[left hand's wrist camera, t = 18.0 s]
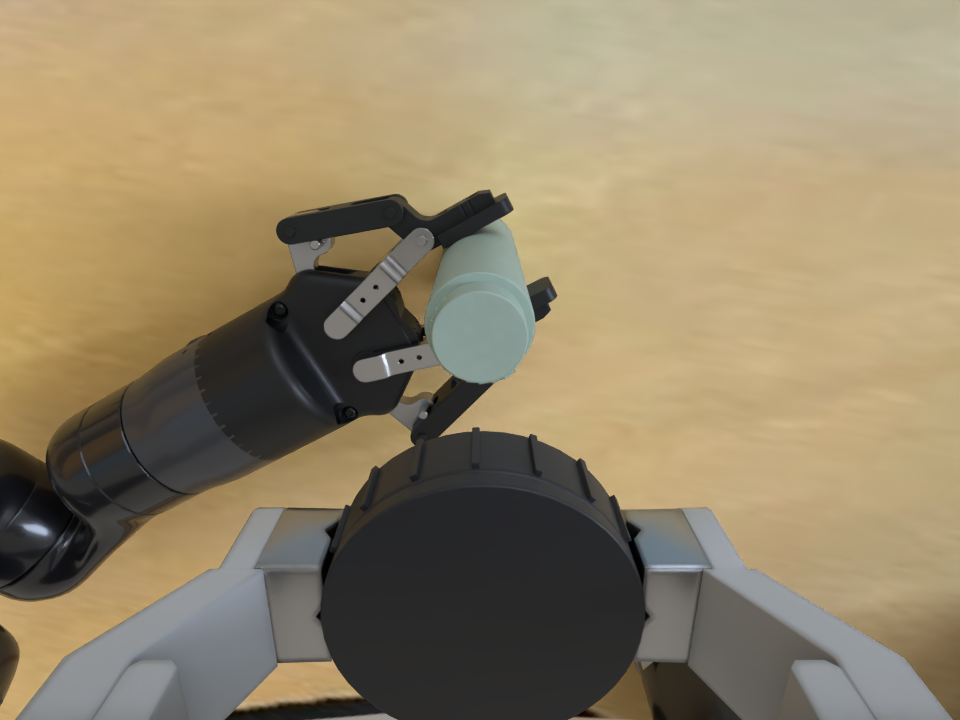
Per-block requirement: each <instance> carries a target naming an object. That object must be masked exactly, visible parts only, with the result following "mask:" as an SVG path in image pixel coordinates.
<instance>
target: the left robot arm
mask: <svg viewBox="0 0 960 720" xmlns="http://www.w3.org/2000/svg"><path fill="white" fill-rule="evenodd" d="M343 510H344V509H326V508H257V509H255V510H254V511H253V512H252V513H251V515H250V517H249V518H248V520H247V522H246V524H245V525H244V527H243V529H242V530H241V532H240V534H239V535H238V537H237V539H236V540H235V542H234V544H233V546H232V547H231V549H230V551H229V552H228V554H227V556H226V557H225V559H224V561H223V562H222V564H221V566H220V568H219V569H209V570H207V571H206V572H204V573H202V574H201V575H199V576H197V577H196V578H194V579H193V580H191V581H189V582H188V583H186V584H184V585H183V586H181V587H179V588H178V589H176V590H174V591H173V592H171V593H169V594H168V595H166V596H164V597H163V598H161V599H159V600H158V601H156V602H155V603H153V604H151V605H150V606H148V607H146V608H145V609H143V610H141V611H140V612H138V613H136V614H135V615H133V616H131V617H130V618H128V619H126V620H125V621H123V622H122V623H120V624H118V625H117V626H115V627H113V628H112V629H110V630H108V631H107V632H105V633H103V634H102V635H100V636H98V637H97V638H95V639H93V640H92V641H90V642H88V643H87V644H85V645H84V646H82V647H80V648H79V649H77V650H75V651H74V652H72V653H70V654H69V655H67V656H65V657H64V658H63V659H62V661H61V662H60V663H59V664H58V666H57V667H56V668H55V670H54V671H53V672H52V673H51V675H50V676H49V677H48V679H47V680H46V681H45V682H44V684H43V685H42V686H41V687H40V689H39V690H38V691H37V693H36V694H35V695H34V696H33V698H32V699H31V700H30V702H29V703H28V704H27V705H26V707H25V708H24V709H23V710H22V712H21V713H20V714H19V716H18V717H17V718H16V719H15V720H225V719H226V718H227V717H228V716H229V715H230V714H231V713H232V712H233V711H234V710H235V709H236V708H237V707H238V706H239V705H240V704H241V703H242V702H243V700H244V699H245V698H246V697H247V696H248V695H249V694H250V693H251V692H252V691H253V690H254V689H255V688H256V687H257V686H258V685H259V684H260V683H261V682H262V681H263V680H264V679H265V678H266V677H267V676H268V675H269V674H270V673H271V672H272V671H273V670H274V669H275V668H276V667H277V666H278V665H277V663H291V662H325V661H332V657H331V656H330V653H329V651H328V648H327V645H326V642H325V640H324V635H323V630H322V625H321V609H320V604H321V597H322V590H323V586H324V583H325V580H326V576H327V573H328V570H329V567H330V564H331V561H332V559H333V556H334V553H332V552H330V551H329V550H330V547H331V544H332V542H333V539H334V536H335V533H336V530H337V527H338V524H339V522H340V519H341V516H342V513H343ZM621 513H622V515H623V518H624V521H625V524H626V526H627V529H628V532H629V535H630V538H631V541H630V542H628V545H629V547H630V550H631V553H632V554H633V555H632V556H633V559H634V562H635V565H636V567H637V570H638V573H639V576H640V580H641V583H642V587H643V590H644V598H645V607H646V608H645V625H644V629H643V634H642V638H641V642H640V645H639V647H638V650H637V652H636V655H635V657H634V661H639V662H674V663H688V666H689V667H690V668H691V669H692V670H693V671H694V672H695V673H696V674H697V675H698V676H699V677H700V678H701V679H702V680H703V681H704V682H705V683H706V684H707V685H708V686H709V687H710V688H711V689H712V690H713V691H714V692H715V693H716V694H717V695H718V696H719V697H720V698H721V699H722V700H723V701H724V702H725V703H726V704H727V705H728V706H729V707H730V708H731V709H732V710H733V711H734V712H735V713H736V714H737V715H738V716H739V717H740V718H741V719H742V720H953V719H952V718H951V717H950V715H949V714H948V713H947V712H946V710H945V709H944V708H943V707H942V705H941V704H940V703H939V701H938V700H937V699H936V698H935V696H934V695H933V694H932V693H931V691H930V690H929V689H928V688H927V686H926V685H925V684H924V682H923V681H922V680H921V679H920V677H919V676H918V675H917V674H916V672H915V671H914V670H913V669H912V667H911V666H910V665H909V663H908V662H907V661H906V660H905V658H903V657H901V656H900V655H898V654H896V653H895V652H893V651H891V650H890V649H888V648H887V647H885V646H883V645H882V644H880V643H878V642H877V641H875V640H873V639H872V638H870V637H868V636H867V635H865V634H863V633H862V632H860V631H858V630H857V629H855V628H853V627H852V626H850V625H848V624H847V623H845V622H843V621H842V620H840V619H838V618H837V617H835V616H833V615H832V614H830V613H828V612H827V611H825V610H823V609H822V608H820V607H818V606H817V605H815V604H813V603H812V602H810V601H808V600H807V599H805V598H803V597H802V596H800V595H798V594H797V593H795V592H793V591H792V590H790V589H789V588H787V587H785V586H784V585H782V584H780V583H779V582H777V581H775V580H774V579H772V578H770V577H769V576H767V575H765V574H764V573H762V572H760V571H759V570H757V569H747V568H746V566H745V564H744V563H743V561H742V560H741V558H740V556H739V555H738V553H737V551H736V550H735V548H734V546H733V545H732V543H731V542H730V540H729V538H728V537H727V535H726V533H725V532H724V530H723V528H722V527H721V525H720V524H719V522H718V520H717V519H716V517H715V515H714V514H713V512H712V510H710V509H709V508H707V507H697V508H678V509H629V510H621Z"/></svg>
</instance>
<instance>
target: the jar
mask: <svg viewBox="0 0 960 720" xmlns="http://www.w3.org/2000/svg"><path fill="white" fill-rule="evenodd" d="M424 327H425V334H426V339H427V341H428V344H429V346H430V348H431V350H432V352H433V353H434V355H435V357H436V360H437V361H438V362H439V363H440V364H441V365H442V366H443V367H444V369H445V370H446V371H448V372H449V373H451V374H452V375H454V377H456V378H459V379H462V380H465V381H466V382H471V383H479V384H485V383H491V382H492V383H495V382H497V381H499V380H502V379H506V378H507V377H509V376H510V375H511V374H513V373H514V372H515V370H514V369H515V368H516V367H517V366H518V364H519V363H520V362H521V360H522V359H523V357H524V355H525V354H526V353H527V351H528V349H529V348H530V346H531V343H532V341H533V337H534V333H535V316H534V311H533V307H532V304H531V300H530V297H529V293H528V289H527V286H526V282H525V279H524V275H523V271H522V268H521V264H520V261H519V257H518V254H517V250H516V246H515V243H514V239H513V236H512V233H511V231H510V230H509V228H508V227H507V225H506V224H505V223H504V222H503V221H502V220H500V219H498V220H496V221H494V222H492V223H490V224H489V225H487V226H485V227H483V228H481V229H480V230H478V231H476V232H474V233H472V234H470V235H469V236H467V237H465V238H463V239H461V240H459V241H457V242H456V243H454V244H452V245H450V246H448V247H447V248H445V249H444V251H443V254H442V258H441V261H440V265H439V268H438V272H437V275H436V278H435V282H434V285H433V289H432V292H431V296H430V299H429V303H428V306H427V310H426V314H425V322H424Z"/></svg>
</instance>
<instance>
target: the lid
mask: <svg viewBox="0 0 960 720" xmlns="http://www.w3.org/2000/svg"><path fill="white" fill-rule="evenodd" d="M630 541H631V538H630V535H629V532H628V529H627V526H626V524H625V521H624V518H623V515H622V513H621V510H620V507H619V504H618V501H617V499H616V497H615V495H613V496H611V497H609V495H608V494H607V492H606V491H605V489H604V488H603V486H602V485H601V484H600V483H599V481H598V480H597V479H596V478H595V477H594V476H593V475H592V474H591V473H590V472H589V471H588V470H587V467H586V464H585V461H584V460H582V459H581V458H580V459H579V460H578V461H576V460H575V459H573V458H571V457H570V456H568V455H567V454H565V453H563V452H562V451H560V450H558V449H556V448H554V447H552V446H549V445H547V444H545V443H543V442H540V441H537V436H536V435H532V434H530V436H529V438H528V437H524V436H520V435H515V434H509V433H504V432H489V431H480V429H479V427H477V428H472V432H463V433H457V434H451V435H445V436H442V437H438V438H435V439H431V440H428V441H425V442H424V440H423V438H421V439H419V440H417V441H416V445H415V446H414V447H411V448H409V449H407V450H406V451H404V452H402V453H401V454H399V455H397V456H395V457H394V458H392V459H391V460H390V461H388V462H387V463H386V464H384V465H383V466H382V467H381V468H378V467H377V466H375V467H374V468H372V469H371V473H370V476H369V479H368V480H367V482H366V483H365V484H364V486H363V487H362V488H361V490H360V491H359V493H358V494H357V495H356V497H355V499H354V501H353V503H352V505H351V506H348V505H345V508H344V510H343V513H342V516H341V519H340V522H339V524H338V527H337V530H336V533H335V536H334V539H333V542H332V544H331V547H330V550H329V551H330V552H332V553H334V556H333V559H332V561H331V564H330V567H329V570H328V573H327V576H326V580H325V583H324V586H323V590H322V597H321V604H320V609H321V625H322V630H323V635H324V640H325V642H326V645H327V648H328V651H329V653H330V656H331V657H332V659H333V661H334V663H335V665H336V667H337V668H338V670H339V671H340V673H341V674H342V675H343V677H344V678H345V679H346V681H347V682H348V683H349V684H350V685H351V686H352V687H353V688H354V689H355V690H356V691H357V692H358V693H359V694H360V695H361V696H362V697H363V698H365V699H366V700H367V701H368V702H370V703H371V704H372V705H373V706H375V707H376V708H378V709H380V710H381V711H383V712H384V713H386V714H388V715H389V716H391V717H393V718H395V719H397V720H568V719H570V718H573V717H574V716H576V715H578V714H579V713H581V712H583V711H585V710H586V709H588V708H589V707H591V706H592V705H593V704H595V703H596V702H597V701H599V700H600V699H601V698H603V697H604V696H605V695H606V694H607V693H608V692H609V691H610V690H611V689H612V688H613V687H614V686H615V685H616V684H617V682H618V681H619V680H620V679H621V677H622V676H623V675H624V674H625V672H626V671H627V669H628V667H629V666H630V664H631V662H632V661H633V659H634V657H635V655H636V652H637V650H638V647H639V645H640V642H641V638H642V634H643V629H644V625H645V608H646V607H645V598H644V590H643V587H642V583H641V580H640V576H639V573H638V570H637V567H636V565H635V562H634V559H633V556H632V555H633V554H632V553H631V550H630V547H629V545H628V542H630Z"/></svg>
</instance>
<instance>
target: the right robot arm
mask: <svg viewBox="0 0 960 720" xmlns="http://www.w3.org/2000/svg"><path fill="white" fill-rule="evenodd" d="M511 211H513V206H512V204H511V202H510V200H509V198H508V196H507V195H506V193H504V194H501V195H499V196H497V197H495V198H494V197H493V195H492V193H491V191H490V190H482V191H478V192H476V193H474V194H472V195H470V196H469V197H467V198H465V199H463V200H462V201H460V202H458V203H456V204H454V205H453V206H451V207H449V208H447V209H445V210H444V211H442V212H440V213H438V214H436V215H434V216H424V215H421V214H420V213H418V212H417V211H416V210H415V209H414V208H413V207H411V206H410V205H409V204H408V202H407V200H406V198H405V197H403V196H402V195H400V194H392V195H386V196H381V197H376V198H370V199H365V200H359V201H354V202H349V203H343V204H338V205H333V206H327V207H322V208H317V209H311V210H306V211H301V212H297V213H295V214H293V215H291V216H289V217H287V218H285V219H283V220H281V221H280V222H279V223H278V225H277V228H276V232H277V236H278V238H279V239H280V240H281V241H282V242H283V243H285V244H288V246H289V249H290V253H291V256H292V260H293V263H294V267H295V270H296V273H297V274H295V275H294V276H293V277H292V278H291V280H290V282H289V284H288V286H287V287H286V289H285V290H284V291H283V292H282V293H280V294H278V295H277V296H275V297H273V298H271V299H270V300H268V301H266V302H264V303H262V304H261V305H259V306H257V307H255V308H254V309H252V310H250V311H248V312H247V313H245V314H243V315H241V316H239V317H238V318H236V319H234V320H232V321H231V322H229V323H227V324H225V325H223V326H222V327H220V328H218V329H216V330H215V331H213V332H211V333H209V334H208V335H204V336H201V337H198V338H196V339H194V340H192V341H191V342H189V343H188V344H187V345H186V347H184V348H182V349H181V350H179V351H177V352H175V353H174V354H172V355H170V356H169V357H167V358H165V359H164V360H163V361H161V362H160V363H158V364H157V365H156V366H155V367H153V368H152V369H151V370H150V371H149V372H147V373H146V374H145V375H143V376H142V377H140V378H139V379H137V380H135V381H133V382H132V383H130V384H128V385H126V386H125V387H123V388H121V389H119V390H117V391H116V392H114V393H112V394H110V395H108V396H107V397H105V398H103V399H101V400H100V401H98V402H96V403H94V404H93V405H91V406H89V407H87V408H86V409H84V410H82V411H80V412H79V413H77V414H75V415H74V416H73V417H71V418H70V419H69V420H67V421H66V422H65V423H63V424H62V425H61V426H60V427H59V428H58V429H57V431H56V432H55V433H54V435H53V437H52V438H51V440H50V442H49V445H48V448H47V453H46V463H44V462H43V461H41V460H39V459H37V458H36V457H34V456H32V455H31V454H29V453H27V452H26V451H24V450H22V449H20V448H19V447H17V446H15V445H13V444H11V443H9V442H6V441H4V440H1V439H0V595H1V596H4V597H7V598H10V599H13V600H18V601H26V602H34V601H42V600H47V599H53V598H56V597H59V596H62V595H64V594H67V593H69V592H71V591H72V590H74V589H76V588H77V587H78V586H80V585H81V584H82V583H83V582H84V581H85V580H87V579H88V578H89V577H90V576H91V575H92V574H93V573H94V572H95V571H96V570H97V568H98V567H99V566H100V565H101V564H102V563H103V562H104V561H105V560H106V559H107V558H108V557H109V556H110V555H111V554H112V553H113V552H114V551H115V550H117V549H118V548H119V547H120V546H121V545H122V544H123V543H124V542H126V541H127V540H128V539H129V538H130V537H131V536H132V535H133V534H134V533H135V532H137V531H138V530H139V529H140V528H141V527H142V526H143V525H144V524H145V523H147V522H148V521H149V520H150V519H151V518H153V517H154V516H156V515H158V514H160V513H163V512H164V511H166V510H169V509H171V508H173V507H175V506H177V505H179V504H180V503H182V502H184V501H186V500H188V499H190V498H192V497H194V496H196V495H198V494H200V493H202V492H204V491H206V490H208V489H211V488H213V487H216V486H219V485H222V484H225V483H228V482H231V481H234V480H237V479H239V478H241V477H244V476H246V475H248V474H250V473H252V472H254V471H256V470H258V469H260V468H262V467H264V466H266V465H268V464H270V463H272V462H273V461H275V460H277V459H279V458H281V457H283V456H285V455H287V454H289V453H291V452H293V451H295V450H297V449H299V448H301V447H303V446H305V445H307V444H309V443H311V442H313V441H315V440H317V439H319V438H321V437H323V436H325V435H327V434H329V433H331V432H333V431H335V430H337V429H339V428H341V427H343V426H345V425H346V424H348V423H350V422H352V421H353V420H355V419H357V418H359V417H362V416H367V415H384V414H387V413H390V414H391V415H392V416H393V417H395V418H396V419H397V420H398V421H400V422H401V423H402V424H403V425H404V426H406V427H407V428H408V429H409V430H411V431H412V432H411V441H412V443H413V444H414V445H416V441H417V440H419V439H421V438H423V440H424V442H425V441H428V440H431V439H435V438H438V437H439V436H440V435H441V434H442V433H443V432H444V431H445V430H446V429H447V428H448V427H449V426H450V425H451V424H452V423H453V422H454V421H455V420H456V419H457V418H458V417H460V416H461V415H462V414H463V413H464V412H465V411H466V410H467V409H468V408H469V407H470V406H471V405H472V404H473V403H474V402H475V401H476V400H477V399H478V398H479V397H480V396H481V395H482V394H483V393H484V392H485V391H486V390H487V389H488V388H490V387H491V386H492V385H493V384H494V383H492V382H491V383H485V384H479V383H471V382H466V381H465V380H462V379H459V378H456V377H454V375H453V376H452V377H451V378H450V379H449V380H448V381H447V382H446V383H445V384H444V385H443V386H442V387H441V388H440V389H439V390H438V391H437V392H436V393H435V394H434V395H433V394H432V393H429V392H422V393H419V394H418V395H417V396H415V397H405V396H403V393H404V391H405V389H406V387H407V385H408V382H409V380H410V378H411V376H412V374H413V372H414V370H419V369H423V368H428V367H433V366H437V365H441V364H440V363H439V362H438V361H437V360H436V357H435V355H434V353H433V352H432V350H431V348H430V346H429V344H428V341H427V339H426V334H425V327H424V325H420V324H419V322H418V321H417V319H416V318H415V317H414V316H413V315H412V314H411V313H410V312H409V311H408V310H407V309H406V308H405V306H404V303H403V299H402V296H401V292H400V291H399V289H398V287H397V286H396V285H397V284H398V283H399V282H400V281H401V280H402V279H403V278H404V276H405V275H406V274H407V273H408V272H409V271H410V270H411V269H412V268H413V267H414V266H415V265H416V264H417V263H418V262H419V261H420V260H421V259H422V258H423V257H424V256H425V255H426V254H427V253H428V252H429V251H431V250H433V249H434V248H436V247H438V246H440V245H442V247H443V248H444V249H445V248H447V247H448V246H450V245H452V244H454V243H456V242H457V241H459V240H461V239H463V238H465V237H467V236H469V235H470V234H472V233H474V232H476V231H478V230H480V229H481V228H483V227H485V226H487V225H489V224H490V223H492V222H494V221H496V220H498V219H500V218H501V217H503V216H505V215H507V214H508V213H510V212H511ZM386 227H389V228H391V229H392V230H393V231H394V232H395V233H396V234H398V235H399V236H400V237H401V238H402V239H401V240H400V241H399V242H398V243H397V244H396V245H395V246H394V247H393V248H392V249H391V250H390V251H389V252H388V253H387V254H386V255H385V256H384V257H383V258H382V259H381V260H380V261H379V262H378V263H377V264H376V265H375V266H374V267H373V268H372V269H371V270H370V271H369V272H367V271H359V270H351V269H343V268H336V267H328V266H320V265H319V264H318V260H319V257H320V255H322V254H325V253H326V252H328V251H329V250H330V249H331V248H332V247H333V246H334V244H335V237H337V236H342V235H348V234H353V233H359V232H364V231H370V230H375V229H380V228H386ZM527 289H528V293H529V297H530V300H531V304H532V307H533V311H534V316H535V322H537V321H539V320H541V319H543V318H544V317H545V316H546V315H547V314H548V313H549V311H550V310H551V309H550V307H549V304H548V303H549V302H551V301H553V300H554V299H555V298H556V297H557V294H556V292H555V289H554V287H553V285H552V283H551V281H550V279H549V278H548V277H544V278H541V279H539V280H537V281H535V282H533V283H531V284H529V285H527ZM423 336H425V337H423ZM19 656H20V651H19V646H18V643H17V642H16V640H15V638H14V637H13V636H12V634H11V633H10V632H8V631H7V630H6V629H5V628H4V627H3V626H1V625H0V705H1V704H2V702H3V700H4V698H5V696H6V694H7V691H8V689H9V687H10V684H11V682H12V680H13V677H14V675H15V672H16V669H17V666H18V662H19ZM635 663H636V666H637V669H638V672H639V674H640V675H641V678H642V681H643V685H644V689H645V692H646V696H647V700H648V703H649V707H650V710H651V714H652V717H653V720H742V719H741V718H740V717H739V716H738V715H737V714H736V713H735V712H734V711H733V710H732V709H731V708H730V707H729V706H728V705H727V704H726V703H725V702H724V701H723V700H722V699H721V698H720V697H719V696H718V695H717V694H716V693H715V692H714V691H713V690H712V689H711V688H710V687H709V686H708V685H707V684H706V683H705V682H704V681H703V680H702V679H701V678H700V677H699V676H698V675H697V674H696V673H695V672H694V671H693V670H692V669H691V668H690V667H689V666H688V663H674V662H639V661H635Z"/></svg>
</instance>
